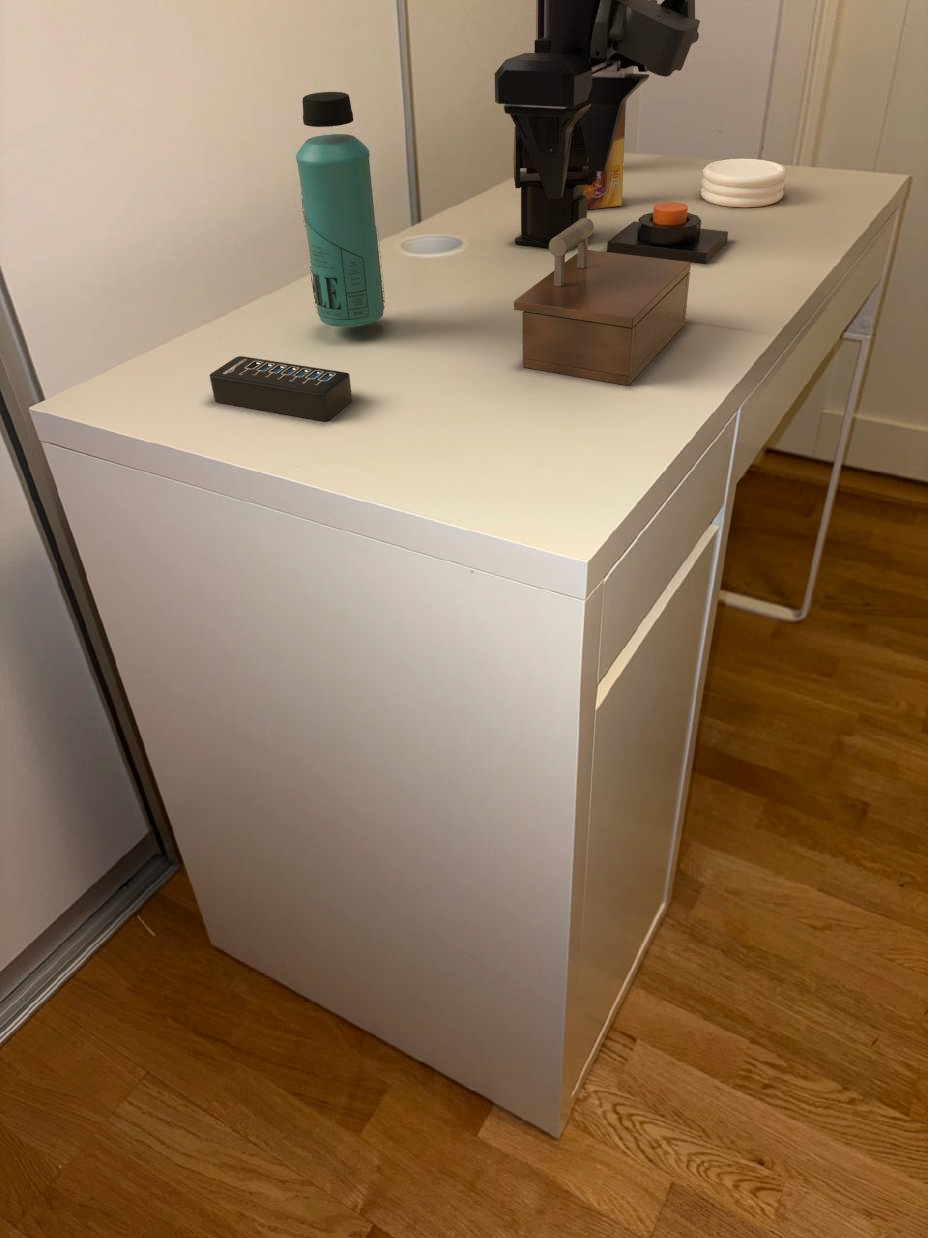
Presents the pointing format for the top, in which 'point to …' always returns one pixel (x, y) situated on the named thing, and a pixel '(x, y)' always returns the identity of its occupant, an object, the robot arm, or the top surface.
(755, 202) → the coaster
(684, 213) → the power button
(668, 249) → the control block
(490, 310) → the top surface
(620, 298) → the chest lid
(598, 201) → the candy box
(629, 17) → the robot arm
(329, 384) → the multiport hub
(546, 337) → the chest
